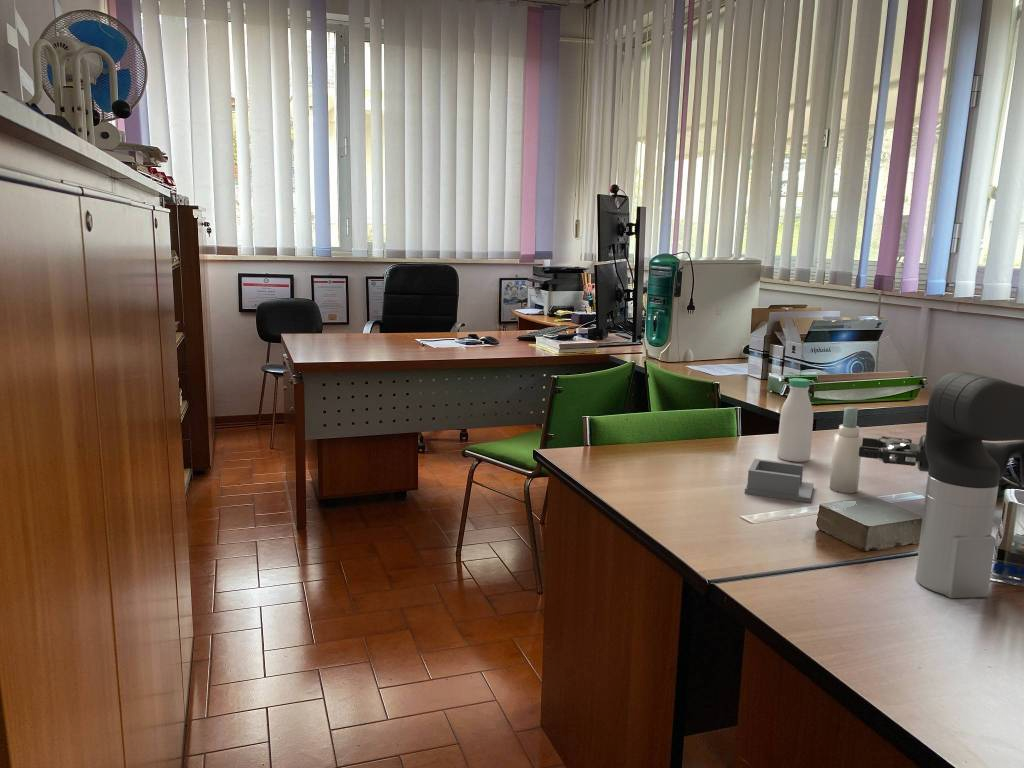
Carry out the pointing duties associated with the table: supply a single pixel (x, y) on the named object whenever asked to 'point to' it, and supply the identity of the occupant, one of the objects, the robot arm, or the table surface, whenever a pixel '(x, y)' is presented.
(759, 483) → the box
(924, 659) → the table surface
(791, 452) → the milk bottle
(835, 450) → the plastic bottle
